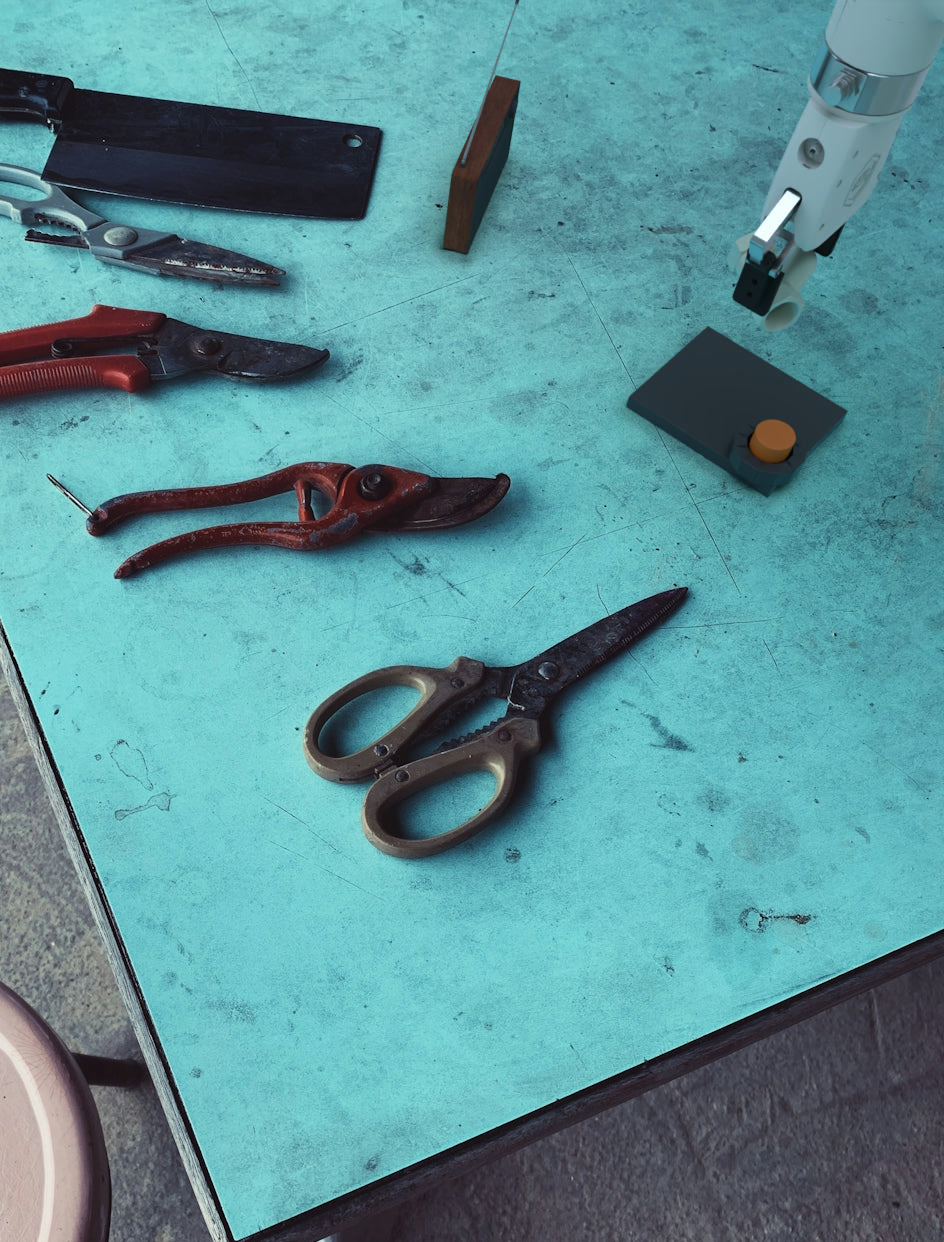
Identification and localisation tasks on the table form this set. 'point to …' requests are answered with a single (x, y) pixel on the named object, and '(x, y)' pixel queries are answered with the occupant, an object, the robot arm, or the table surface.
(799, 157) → the robot arm
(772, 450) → the button
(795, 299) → the pipe fitting
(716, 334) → the scale
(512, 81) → the radio
